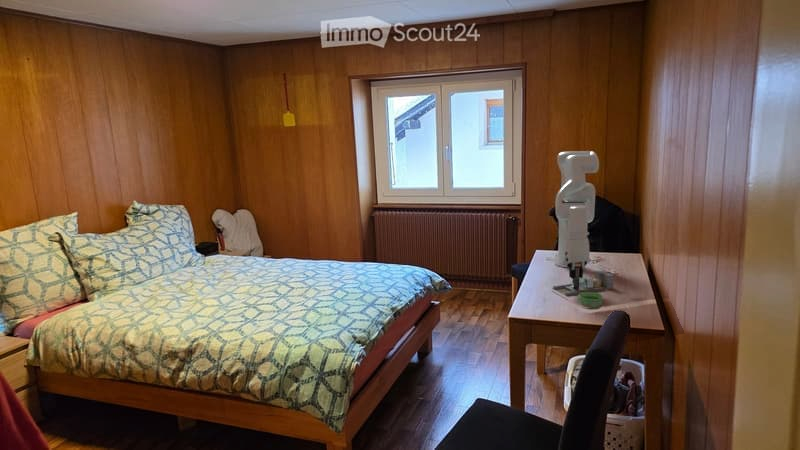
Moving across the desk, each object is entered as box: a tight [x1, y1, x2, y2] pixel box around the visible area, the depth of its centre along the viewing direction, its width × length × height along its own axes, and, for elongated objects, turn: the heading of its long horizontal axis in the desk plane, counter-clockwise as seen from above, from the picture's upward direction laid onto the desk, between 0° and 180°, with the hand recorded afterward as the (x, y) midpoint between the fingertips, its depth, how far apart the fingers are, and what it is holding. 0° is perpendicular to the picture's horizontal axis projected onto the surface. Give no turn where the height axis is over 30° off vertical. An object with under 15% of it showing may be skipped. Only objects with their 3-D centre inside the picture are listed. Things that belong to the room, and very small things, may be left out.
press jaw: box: [565, 262, 594, 291], centre depth 210 cm, size 7×9×12 cm
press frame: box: [551, 269, 618, 301], centre depth 212 cm, size 12×24×8 cm, turn 106°
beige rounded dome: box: [593, 278, 601, 288], centre depth 213 cm, size 4×4×3 cm
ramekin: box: [578, 292, 604, 311], centre depth 196 cm, size 9×9×4 cm
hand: (576, 277), depth 210 cm, fingers closed on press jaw, 2 cm apart
